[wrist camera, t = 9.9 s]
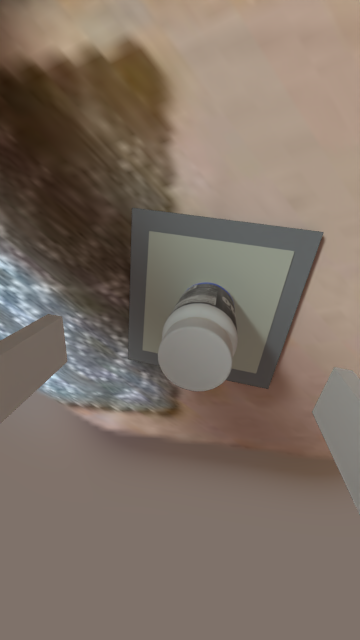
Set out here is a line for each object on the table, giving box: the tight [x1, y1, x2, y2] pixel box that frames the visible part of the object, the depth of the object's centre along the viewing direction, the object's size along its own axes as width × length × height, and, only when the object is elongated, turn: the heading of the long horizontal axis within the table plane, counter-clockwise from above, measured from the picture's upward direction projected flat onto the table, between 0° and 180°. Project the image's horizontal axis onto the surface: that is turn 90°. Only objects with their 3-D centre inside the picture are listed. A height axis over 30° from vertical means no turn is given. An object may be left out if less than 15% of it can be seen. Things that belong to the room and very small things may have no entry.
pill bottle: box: [158, 282, 238, 391], centre depth 16 cm, size 5×5×8 cm
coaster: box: [128, 208, 323, 389], centre depth 20 cm, size 14×14×1 cm
